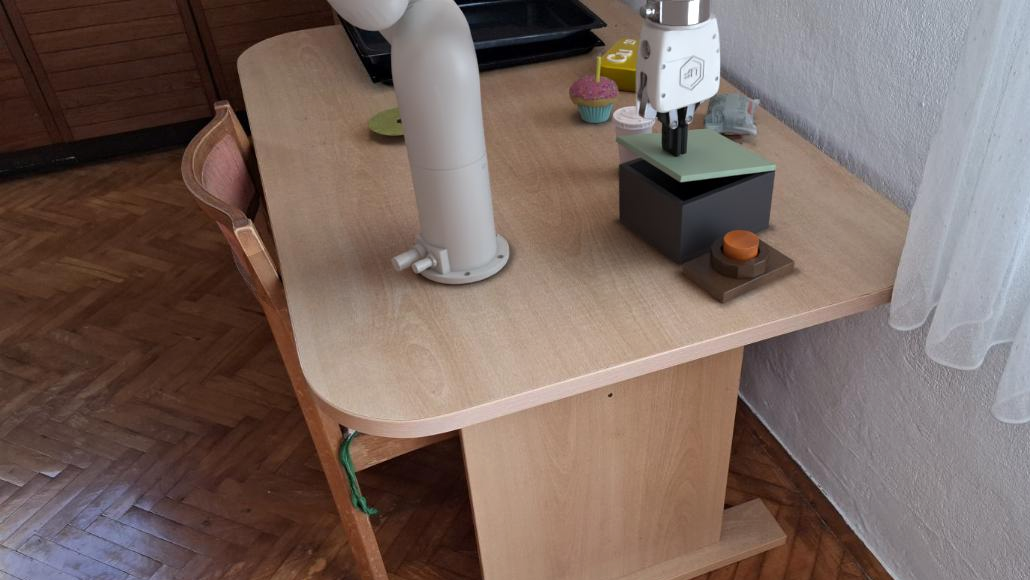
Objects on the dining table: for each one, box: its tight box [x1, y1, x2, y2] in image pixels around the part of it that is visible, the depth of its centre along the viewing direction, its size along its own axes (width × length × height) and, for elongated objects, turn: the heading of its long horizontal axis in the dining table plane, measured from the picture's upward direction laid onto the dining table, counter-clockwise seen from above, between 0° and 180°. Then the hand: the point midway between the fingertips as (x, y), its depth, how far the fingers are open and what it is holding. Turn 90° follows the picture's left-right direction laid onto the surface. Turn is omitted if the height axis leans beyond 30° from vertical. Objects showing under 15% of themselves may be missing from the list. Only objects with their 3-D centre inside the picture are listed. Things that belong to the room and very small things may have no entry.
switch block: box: [682, 236, 796, 304], centre depth 110 cm, size 12×8×4 cm, turn 124°
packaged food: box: [703, 92, 761, 137], centre depth 142 cm, size 9×12×5 cm
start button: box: [723, 230, 760, 261], centre depth 108 cm, size 4×4×2 cm
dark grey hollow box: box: [618, 157, 776, 266], centre depth 117 cm, size 16×14×9 cm
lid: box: [615, 128, 777, 182], centre depth 113 cm, size 17×14×1 cm
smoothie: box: [611, 94, 656, 164], centre depth 128 cm, size 6×6×14 cm
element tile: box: [600, 37, 639, 93], centre depth 160 cm, size 15×15×5 cm
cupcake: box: [568, 52, 620, 124], centre depth 145 cm, size 9×8×12 cm
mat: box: [367, 106, 404, 136], centre depth 145 cm, size 11×11×2 cm
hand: (674, 151), depth 111 cm, fingers closed
